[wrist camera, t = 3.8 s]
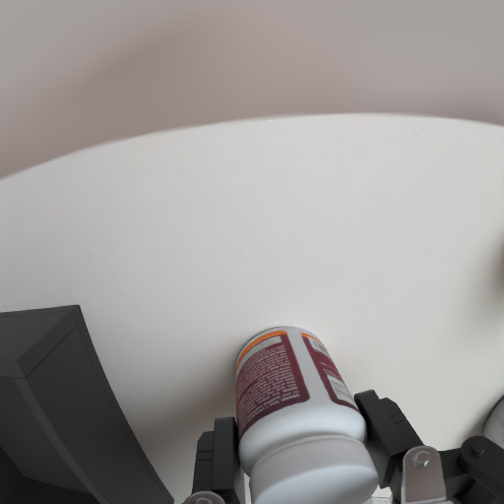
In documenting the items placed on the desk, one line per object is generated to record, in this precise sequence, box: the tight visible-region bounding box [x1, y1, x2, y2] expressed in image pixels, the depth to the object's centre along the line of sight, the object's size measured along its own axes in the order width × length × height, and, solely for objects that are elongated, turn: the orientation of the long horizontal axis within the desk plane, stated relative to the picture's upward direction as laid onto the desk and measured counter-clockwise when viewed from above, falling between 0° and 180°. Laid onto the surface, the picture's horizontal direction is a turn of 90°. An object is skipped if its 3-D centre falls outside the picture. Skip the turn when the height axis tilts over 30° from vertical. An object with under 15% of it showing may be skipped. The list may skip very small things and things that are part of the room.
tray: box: [0, 305, 174, 504], centre depth 13 cm, size 18×17×6 cm
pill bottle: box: [236, 327, 379, 504], centre depth 11 cm, size 5×5×8 cm
